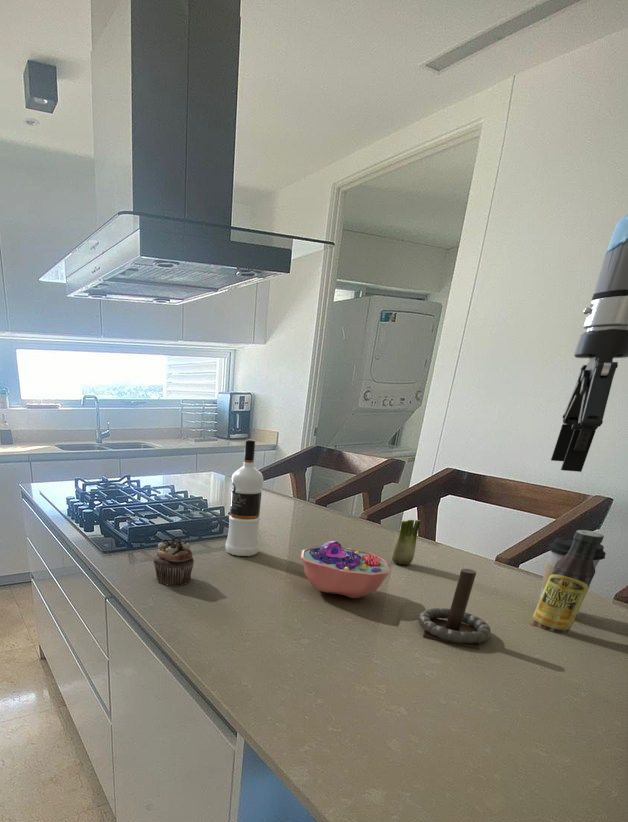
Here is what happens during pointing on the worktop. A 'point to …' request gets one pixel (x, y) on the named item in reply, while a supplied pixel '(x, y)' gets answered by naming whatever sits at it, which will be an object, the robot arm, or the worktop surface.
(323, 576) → the cell model
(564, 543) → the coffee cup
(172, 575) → the cupcake
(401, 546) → the fennel bulb
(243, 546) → the vodka
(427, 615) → the ring
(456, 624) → the post stand
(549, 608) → the sauce bottle
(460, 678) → the worktop surface
